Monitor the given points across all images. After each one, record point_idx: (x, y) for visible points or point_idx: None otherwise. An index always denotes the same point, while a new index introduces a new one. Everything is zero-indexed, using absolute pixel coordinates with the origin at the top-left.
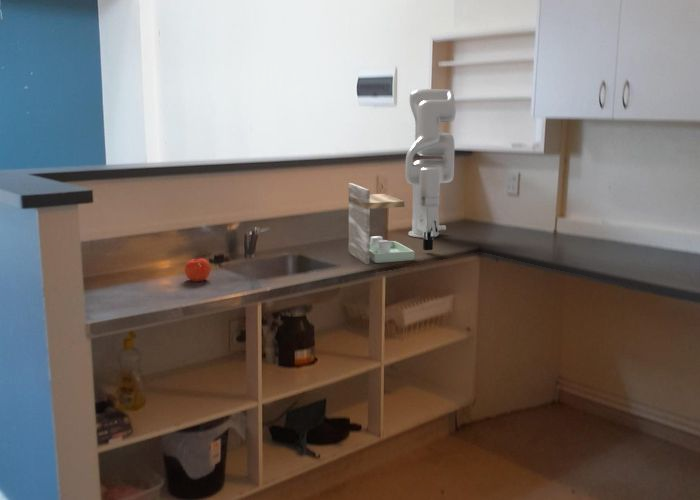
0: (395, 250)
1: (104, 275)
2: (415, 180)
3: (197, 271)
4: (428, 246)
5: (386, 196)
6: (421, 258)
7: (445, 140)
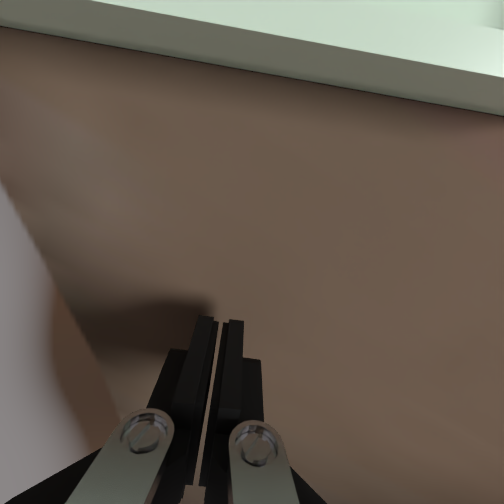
0: (410, 4)
1: None
2: None
3: None
4: (165, 364)
5: None
6: (15, 155)
7: None
